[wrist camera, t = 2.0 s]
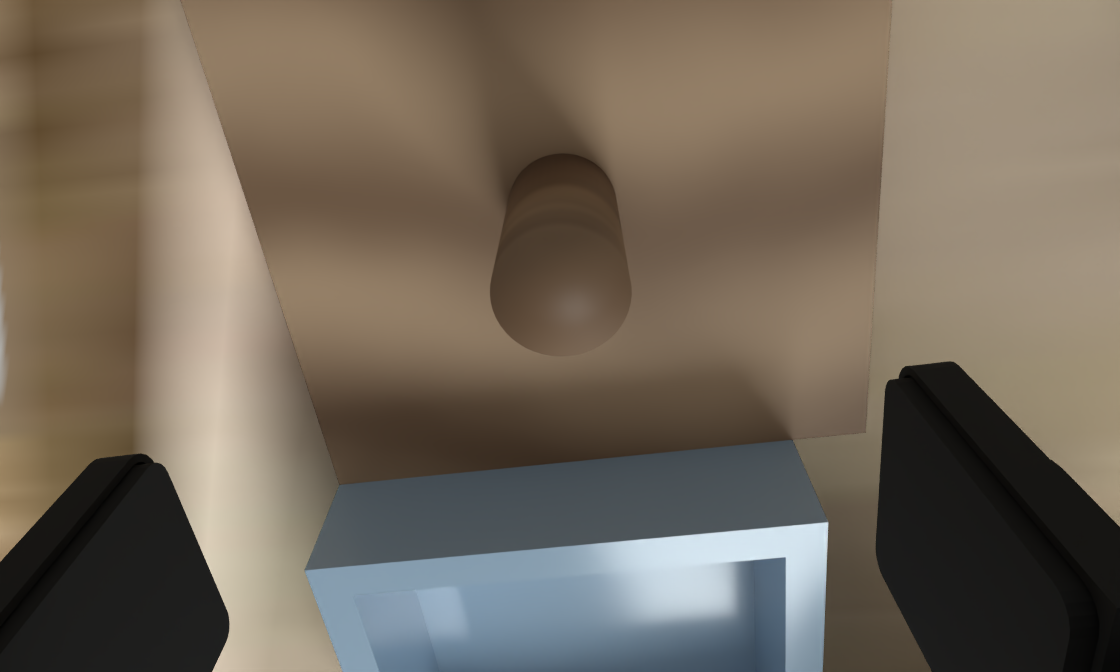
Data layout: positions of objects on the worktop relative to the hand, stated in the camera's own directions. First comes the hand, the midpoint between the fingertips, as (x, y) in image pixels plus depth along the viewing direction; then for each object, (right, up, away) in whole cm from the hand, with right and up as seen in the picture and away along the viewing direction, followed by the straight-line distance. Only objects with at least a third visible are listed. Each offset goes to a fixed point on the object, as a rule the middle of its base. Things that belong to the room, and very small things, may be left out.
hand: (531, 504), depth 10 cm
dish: (+1, -6, +16) cm, 18 cm away
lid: (0, +6, +9) cm, 11 cm away
